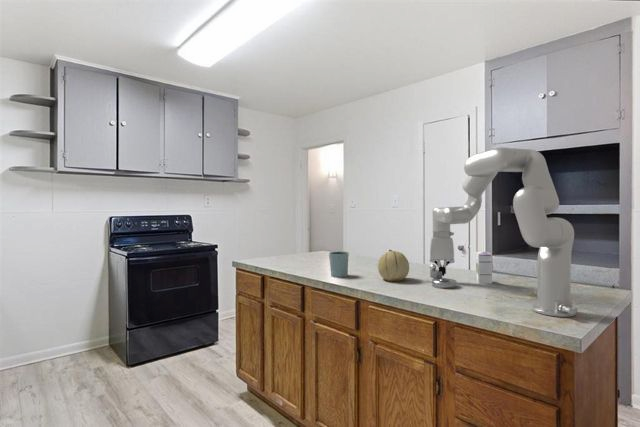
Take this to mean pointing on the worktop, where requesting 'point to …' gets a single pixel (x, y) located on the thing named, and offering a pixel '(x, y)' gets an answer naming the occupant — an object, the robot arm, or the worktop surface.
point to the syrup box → (484, 267)
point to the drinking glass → (339, 264)
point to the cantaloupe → (393, 266)
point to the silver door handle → (440, 279)
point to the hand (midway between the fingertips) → (442, 275)
